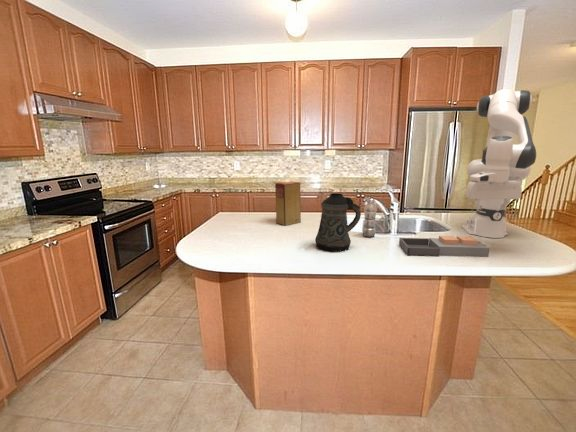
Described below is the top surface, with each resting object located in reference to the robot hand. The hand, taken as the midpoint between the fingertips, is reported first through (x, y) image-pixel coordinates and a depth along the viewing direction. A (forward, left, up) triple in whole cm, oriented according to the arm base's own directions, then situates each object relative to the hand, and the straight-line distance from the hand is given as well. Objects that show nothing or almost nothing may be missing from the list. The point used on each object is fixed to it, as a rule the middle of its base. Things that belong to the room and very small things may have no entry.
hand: (490, 209), depth 125 cm
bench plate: (0, -11, -19) cm, 22 cm away
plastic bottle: (-20, -46, -19) cm, 54 cm away
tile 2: (0, -8, -15) cm, 17 cm away
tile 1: (0, -15, -15) cm, 22 cm away
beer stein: (-3, -64, -19) cm, 67 cm away
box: (0, -28, -19) cm, 34 cm away
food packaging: (-45, -91, -19) cm, 104 cm away
